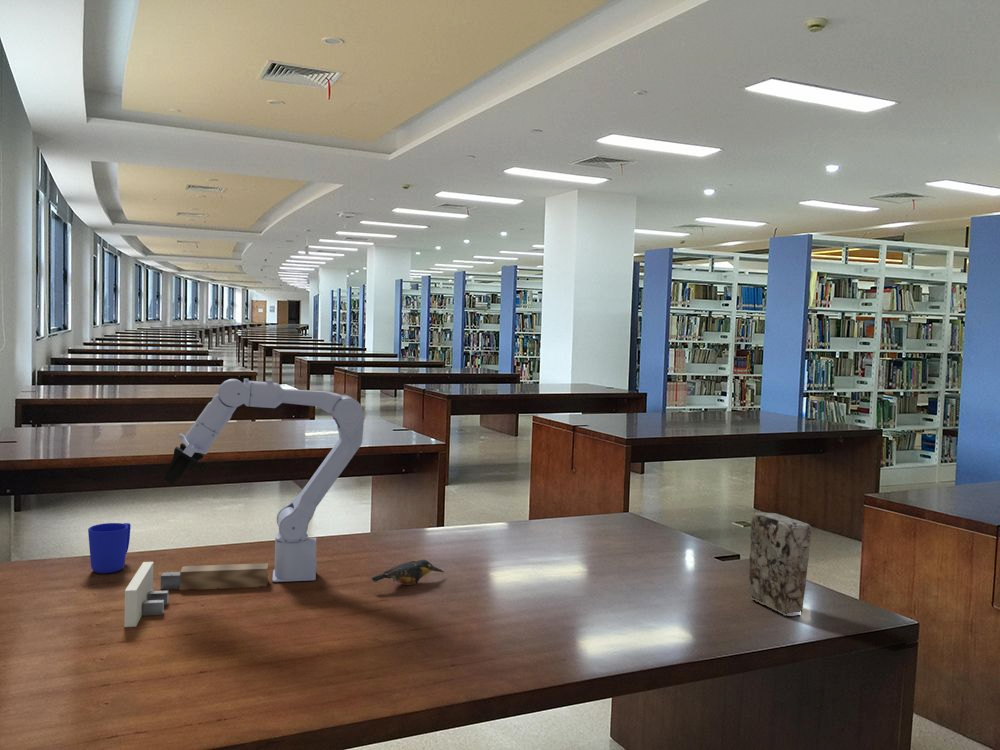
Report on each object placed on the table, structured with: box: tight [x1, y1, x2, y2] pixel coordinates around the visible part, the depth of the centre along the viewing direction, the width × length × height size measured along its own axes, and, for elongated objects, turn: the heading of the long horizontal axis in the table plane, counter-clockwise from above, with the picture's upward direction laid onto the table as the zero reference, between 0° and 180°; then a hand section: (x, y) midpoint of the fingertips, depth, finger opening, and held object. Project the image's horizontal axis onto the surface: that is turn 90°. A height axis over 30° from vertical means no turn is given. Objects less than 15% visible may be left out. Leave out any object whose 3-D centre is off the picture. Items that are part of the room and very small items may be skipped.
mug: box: [87, 522, 132, 574], centre depth 181 cm, size 8×12×10 cm
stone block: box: [748, 511, 812, 614], centre depth 171 cm, size 13×7×20 cm, turn 26°
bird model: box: [369, 559, 445, 586], centre depth 177 cm, size 20×5×5 cm, turn 131°
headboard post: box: [124, 561, 169, 628], centre depth 156 cm, size 6×18×7 cm, turn 14°
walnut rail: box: [160, 562, 269, 591], centre depth 172 cm, size 22×4×4 cm, turn 104°
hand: (170, 478), depth 170 cm, fingers open, 7 cm apart
